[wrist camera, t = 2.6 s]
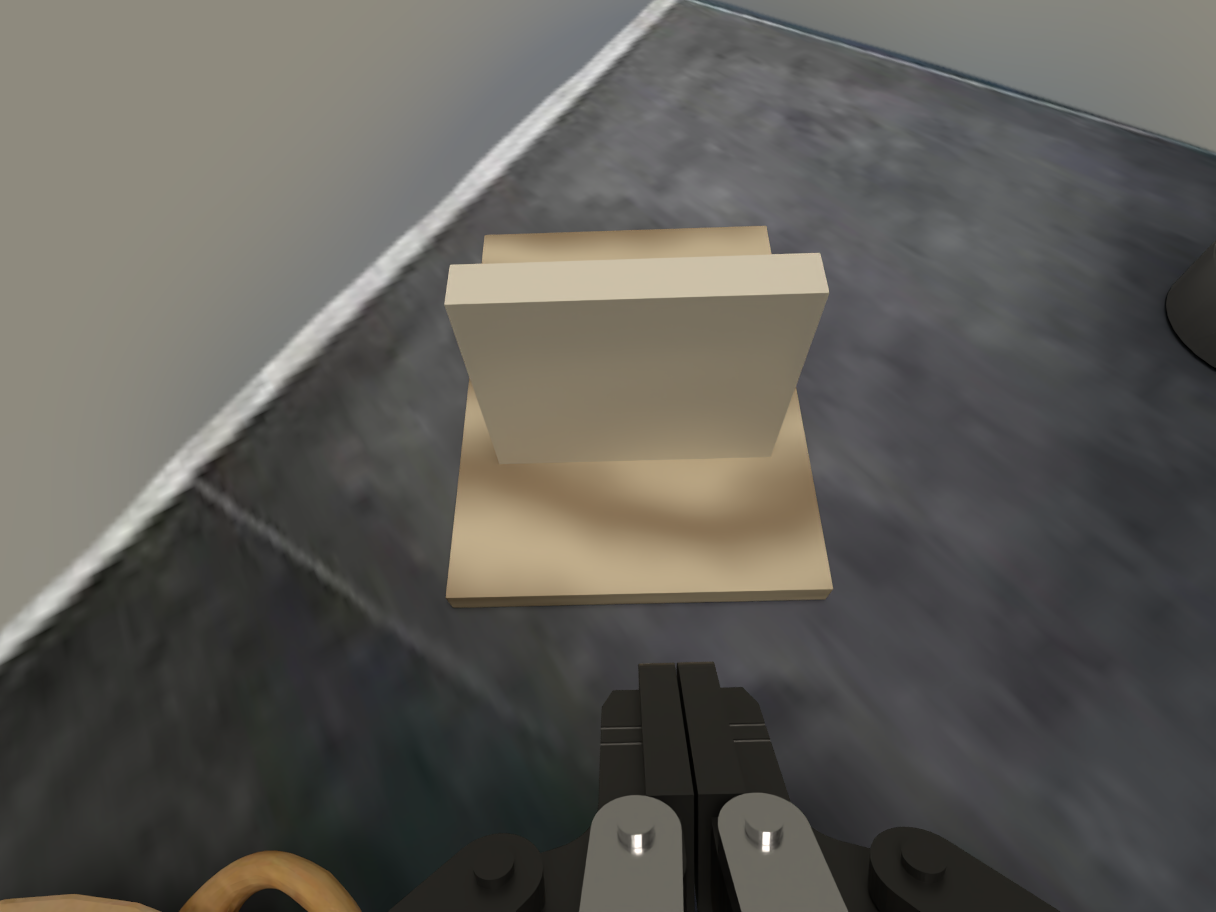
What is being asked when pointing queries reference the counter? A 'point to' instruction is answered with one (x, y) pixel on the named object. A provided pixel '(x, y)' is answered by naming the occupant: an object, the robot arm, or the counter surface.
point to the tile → (636, 353)
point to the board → (634, 491)
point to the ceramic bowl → (223, 889)
